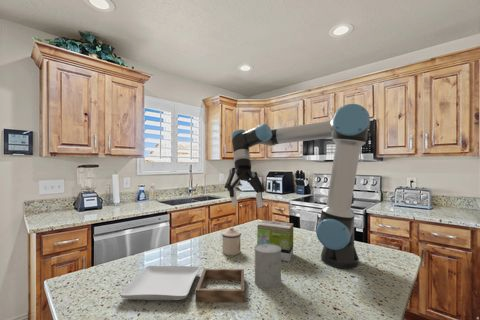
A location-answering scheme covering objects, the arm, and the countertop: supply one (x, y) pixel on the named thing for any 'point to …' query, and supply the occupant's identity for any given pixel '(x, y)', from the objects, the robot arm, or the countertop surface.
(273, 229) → the tea box
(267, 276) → the grey speckled cylinder
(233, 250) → the teacup with lid
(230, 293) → the collar
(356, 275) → the countertop surface
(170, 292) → the salad plate
